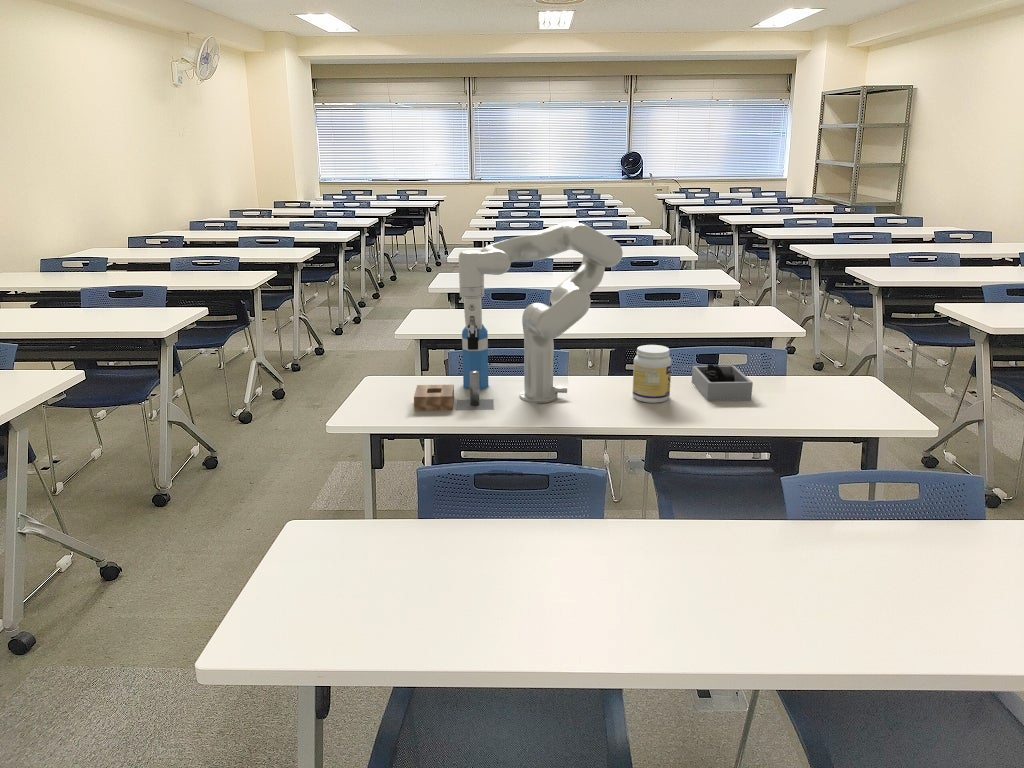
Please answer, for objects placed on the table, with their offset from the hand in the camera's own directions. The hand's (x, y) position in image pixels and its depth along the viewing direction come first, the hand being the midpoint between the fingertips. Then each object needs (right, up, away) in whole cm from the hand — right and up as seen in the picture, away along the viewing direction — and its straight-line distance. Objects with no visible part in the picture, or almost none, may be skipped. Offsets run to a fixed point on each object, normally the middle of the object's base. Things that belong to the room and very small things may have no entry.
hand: (473, 345), depth 232 cm
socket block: (-13, -19, +7) cm, 24 cm away
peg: (0, -19, +6) cm, 20 cm away
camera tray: (+83, -14, +19) cm, 86 cm away
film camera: (+82, -15, +19) cm, 86 cm away
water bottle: (0, -13, +25) cm, 28 cm away
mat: (0, -19, +6) cm, 20 cm away
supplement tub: (+58, -17, +13) cm, 62 cm away
